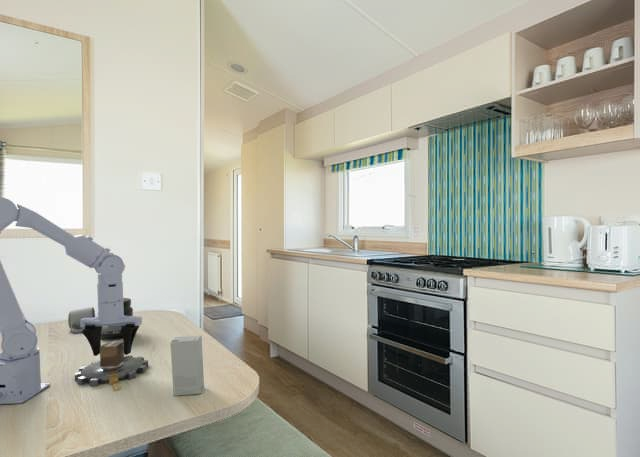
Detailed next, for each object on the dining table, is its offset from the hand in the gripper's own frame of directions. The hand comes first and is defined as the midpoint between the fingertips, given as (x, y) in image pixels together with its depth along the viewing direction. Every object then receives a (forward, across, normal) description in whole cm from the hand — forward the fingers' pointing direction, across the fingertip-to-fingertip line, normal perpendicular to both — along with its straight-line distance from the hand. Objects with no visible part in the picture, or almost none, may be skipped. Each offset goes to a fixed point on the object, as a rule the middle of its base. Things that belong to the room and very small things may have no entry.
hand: (112, 354), depth 100 cm
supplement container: (+5, +15, -33) cm, 37 cm away
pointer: (+5, -5, +9) cm, 12 cm away
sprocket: (+5, 0, 0) cm, 5 cm away
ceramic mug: (+5, +32, -43) cm, 54 cm away
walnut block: (+2, 0, 0) cm, 2 cm away
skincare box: (+5, -23, +13) cm, 27 cm away
